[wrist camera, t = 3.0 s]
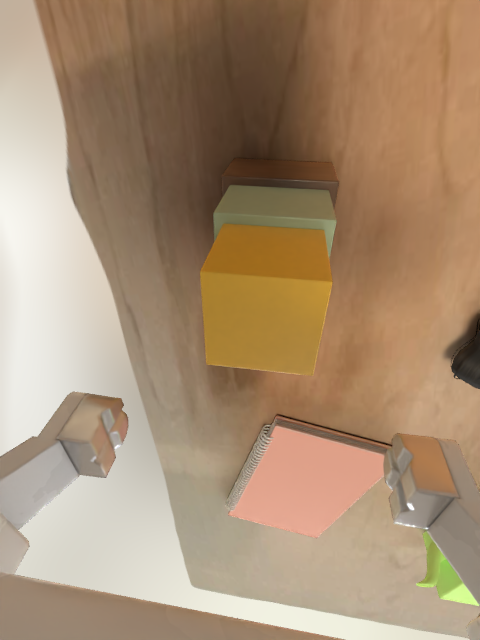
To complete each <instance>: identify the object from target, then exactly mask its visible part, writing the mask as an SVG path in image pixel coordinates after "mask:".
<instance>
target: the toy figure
mask: <svg viewBox="0 0 480 640" xmlns="http://www.w3.org/2000/svg"><path fill="white" fill-rule="evenodd" d="M478 321H479V320H478ZM477 328H478V323H477ZM476 335H477V336H476ZM476 335H475V336H476V339H474V340H473V341H472V342H471V343H469V344H468V345H467V346H465V347H464V348H463V349H461V350H460V351H459V352H458V354H457V355H456V357H455V358H454V360H453V364H452V367H451V368H452V372H453V373H454V378H455V376H457V377H458V378H456V379H462V380H463V381H465V382H466V383H468V384H470V385H471V386H473V387H475V388H478V389H480V326H479V331H478V334H477V331H476ZM472 339H473V338H472ZM472 339H471V340H472ZM468 342H469V341H468ZM464 345H465V344H464ZM461 347H462V346H461ZM461 347H460V348H461ZM457 350H458V349H457ZM455 353H456V352H455ZM453 356H454V355H453ZM452 358H453V357H452ZM451 361H452V360H451Z"/></svg>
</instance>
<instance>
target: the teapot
mask: <svg viewBox="0 0 480 640" xmlns="http://www.w3.org/2000/svg"><path fill="white" fill-rule="evenodd" d="M423 538H424V542H425V546H426V550H427V574H426V577H425V579H424V580H423V581H421V582H419V583H417V584H416V585H417V586H421V587H434V586H435V585H436V587H437V591H438V595H439V597H440V598H441V599H446V600H451V601H456V602H461V603H467V604H472V605H477V606H479V604H478V603H477V601H476V600H475V599H474V597H473V596H472V594H471V593H470V592H469V590H468V589H467V587H466V586H465V585H464V583H463V582H462V580H461V579H460V578H459V576H458V575H457V573H456V572H455V570H454V569H453V568H452V566H451V565H450V563H449V562H448V561H447V559H446V558H445V556H444V555H443V554H442V552H441V551H440V549H439V548H438V547H437V545H436V544H435V542H434V541H433V540H432V538H431V537H430V535H429V534H428V533H427V531H426V532H425V533H424V534H423Z"/></svg>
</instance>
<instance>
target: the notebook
mask: <svg viewBox="0 0 480 640" xmlns="http://www.w3.org/2000/svg"><path fill="white" fill-rule="evenodd" d="M266 426H269V427H270V429H269V428H264V427H266ZM264 427H263V428H262V430H261V433H260V434H259V436H258V439H257V440H256V442H255V445H254V446H253V448H252V450H251V453H250V454H249V456H248V458H247V461H246V463H245V465H244V467H243V468H242V470H241V472H240V475H239V477H238V479H237V481H236V483H235V485H234V487H233V489H232V491H231V493H230V495H229V497H228V499H227V501H226V507H227V506H228V507H229V508H228V507H227V509H228V510H229V513H228V515H230V516H234V517H237V518H241V519H245V520H249V521H253V522H257V523H261V524H264V525H268V526H272V527H276V528H280V529H284V530H288V531H291V532H295V533H299V534H303V535H307V536H311V537H315V538H317V537H319V536H320V535H321V534H322V533H323V532H324V531H325V530H326V529H327V528H328V527H329V526H330V525H331V524H332V523H334V522H335V521H336V520H337V519H338V518H339V517H340V516H341V515H342V514H343V513H344V512H345V511H346V510H347V509H349V508H350V507H351V506H352V505H353V504H354V503H355V502H356V501H357V500H358V499H359V498H360V497H361V496H362V495H364V494H365V493H366V492H367V491H368V490H369V489H370V488H371V487H372V486H373V485H374V484H375V483H376V482H377V481H379V480H380V479H381V478H382V477H383V476H384V471H383V461H384V455H385V453H386V450H387V449H388V448H390V447H392V446H388V445H385V444H381V443H377V442H374V441H370V440H366V439H363V438H359V437H355V436H351V435H348V434H344V433H340V432H337V431H333V430H329V429H326V428H322V427H318V426H314V425H311V424H307V423H303V422H300V421H296V420H292V419H289V418H285V417H281V416H278V415H276V417H275V419H274V421H273V423H272V425H265V426H264ZM265 429H267V430H269V431H268V432H267V431H263V430H265ZM264 433H267V435H266V434H264ZM260 436H261V437H260ZM262 436H264V437H262ZM261 438H262V440H261ZM259 441H260V442H261V443H260V442H259ZM257 442H258V443H257ZM257 444H259V445H257ZM260 444H261V445H260ZM256 447H257V448H256ZM259 447H260V448H259ZM257 449H258V450H257ZM253 452H254V453H253ZM256 452H257V453H256ZM254 454H255V455H256V456H255V455H254ZM252 455H253V456H252ZM250 457H251V458H250ZM253 457H254V459H253ZM251 459H252V460H253V461H252V460H251ZM249 460H250V461H249ZM250 462H251V463H252V464H251V463H250ZM248 464H250V465H251V466H250V465H248ZM245 467H246V468H245ZM248 467H249V468H248ZM244 469H245V470H244ZM246 469H247V470H246ZM245 471H246V472H247V473H246V472H245ZM243 473H244V474H243ZM241 478H242V479H241ZM238 480H239V481H238ZM240 480H241V481H240ZM237 482H238V483H237ZM239 482H240V483H239ZM241 482H242V483H241ZM236 484H237V485H236ZM240 484H241V485H240ZM239 486H240V487H239ZM238 488H239V489H238ZM237 490H238V491H237ZM235 492H237V493H235ZM232 497H233V498H232ZM229 499H230V500H229ZM231 499H232V500H231ZM228 500H229V502H230V501H231V502H230V504H229V502H228ZM228 504H229V505H230V506H229V505H228Z"/></svg>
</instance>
